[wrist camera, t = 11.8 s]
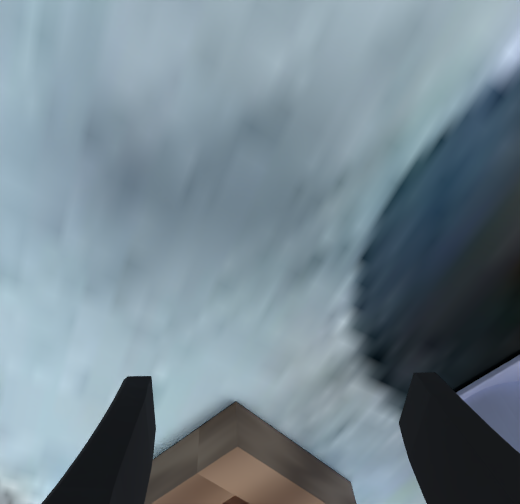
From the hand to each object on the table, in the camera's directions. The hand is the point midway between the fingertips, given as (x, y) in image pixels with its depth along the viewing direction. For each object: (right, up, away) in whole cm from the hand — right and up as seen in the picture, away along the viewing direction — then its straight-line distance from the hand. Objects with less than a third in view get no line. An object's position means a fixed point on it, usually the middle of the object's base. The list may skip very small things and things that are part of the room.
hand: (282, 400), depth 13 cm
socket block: (-2, -12, +18) cm, 22 cm away
